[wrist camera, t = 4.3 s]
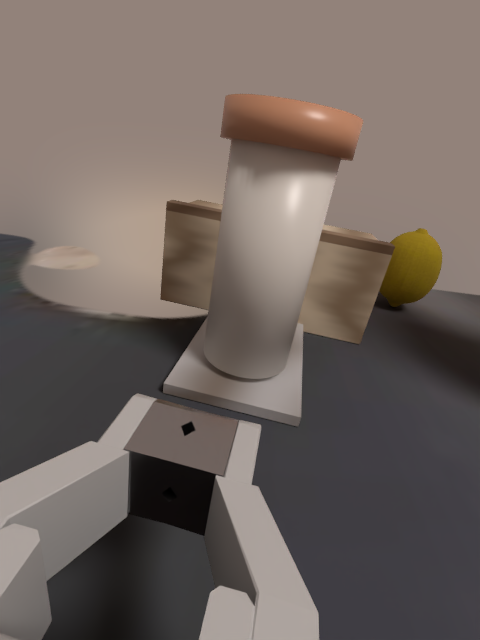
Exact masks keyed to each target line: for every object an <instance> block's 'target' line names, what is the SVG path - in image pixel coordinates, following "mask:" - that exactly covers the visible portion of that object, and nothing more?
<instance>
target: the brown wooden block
mask: <svg viewBox="0 0 480 640" xmlns="http://www.w3.org/2000/svg"><path fill="white" fill-rule="evenodd" d="M222 207H223V205H222V204H216V203H211V202H206V201H201V200H196V201H193V202H190V203H185V202H180V201H175V200H171V201H167V208H166V223H165V238H164V253H163V269H162V284H161V300H166V301H170V302H174V303H179V304H183V305H188V306H192V307H197V308H201V309H206V310H209V304H210V296H211V289H212V281H213V274H214V267H215V259H216V252H217V244H218V237H219V229H220V222H221V214H222ZM394 249H395V246H394V245H393V244H392V243H388V242H383V241H378V240H377V239H376V238H375V237H374V236H373V235H372V234H370V233H364V232H359V231H354V230H349V229H344V228H339V227H334V226H328V225H323V228H322V232H321V236H320V240H319V244H318V247H317V251H316V255H315V259H314V263H313V266H312V270H311V274H310V278H309V281H308V285H307V289H306V293H305V297H304V300H303V304H302V308H301V312H300V316H299V319H298V323H297V327H296V331H295V335H294V338H293V342H292V346H291V350H290V353H289V357H288V361H287V365H286V367H285V369H284V370H283V371H282V372H281V373H279V374H278V375H275V376H273V377H269V378H263V379H249V378H242V377H237V376H234V375H231V374H228V373H225V372H223V371H221V370H219V369H218V368H216V367H215V366H213V365H212V364H211V363H210V362H209V361H208V360H207V358H206V357H205V355H204V350H203V349H204V341H205V334H206V326H207V319H208V317H207V318H206V320H205V321H204V323H203V324H202V326H201V327H200V329H199V330H198V332H197V333H196V335H195V336H194V338H193V339H192V341H191V342H190V344H189V346H188V347H187V349H186V350H185V352H184V353H183V355H182V356H181V358H180V359H179V361H178V362H177V364H176V365H175V367H174V368H173V370H172V371H171V373H170V374H169V376H168V378H167V379H166V381H165V382H164V386H163V393H166V394H170V395H174V396H178V397H182V398H186V399H190V400H194V401H198V402H202V403H206V404H210V405H214V406H217V407H221V408H225V409H229V410H233V411H237V412H241V413H245V414H249V415H253V416H257V417H261V418H265V419H269V420H273V421H277V422H281V423H285V424H289V425H293V426H297V427H298V425H299V422H300V419H301V396H302V356H303V332H307V333H312V334H316V335H321V336H325V337H330V338H334V339H338V340H343V341H347V342H352V343H356V344H360V342H361V339H362V336H363V334H364V331H365V328H366V325H367V323H368V320H369V317H370V314H371V312H372V309H373V306H374V303H375V301H376V298H377V295H378V292H379V290H380V287H381V284H382V281H383V279H384V276H385V273H386V271H387V268H388V265H389V262H390V260H391V257H392V254H393V251H394Z"/></svg>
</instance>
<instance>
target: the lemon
mask: <svg viewBox="0 0 480 640" xmlns="http://www.w3.org/2000/svg"><path fill="white" fill-rule="evenodd" d="M390 243H392V244H393V245H394V246H395V249H394V251H393V254H392V257H391V260H390V262H389V265H388V268H387V271H386V273H385V276H384V279H383V281H382V284H381V287H380V290H379V291H380V293H381V294H382V295H383V296H384V297H385V298H387V300H388V302H389V304H390V306H393V307H397V306H399V305H401V304H405V303H412V302H415V301H418V300H420V299H421V298H423V297H424V296H425V295H426V294H427V293H428V292H429V291H430V290H431V289H432V287H433V286H434V284H435V283H436V281H437V279H438V276H439V273H440V270H441V264H442V252H441V249H440V247H439V245H438V243H437V242H436V240H435V239H434V238H433V237H431V236H430V235H429V234H428V232H427V230H425V229H418V230H416V231H413V232H407V233H404V234H402V235H400V236H398V237H396V238H395V239H394V240H392V241H391V242H390Z"/></svg>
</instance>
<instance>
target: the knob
mask: <svg viewBox="0 0 480 640" xmlns="http://www.w3.org/2000/svg"><path fill="white" fill-rule="evenodd" d="M362 124H363V120H362V119H361V118H360V117H358V116H356V115H354V114H351V113H348V112H345V111H342V110H339V109H335V108H331V107H327V106H323V105H319V104H314V103H310V102H304V101H298V100H293V99H287V98H280V97H273V96H265V95H253V94H232V95H227V96H226V97H225V103H224V111H223V121H222V128H221V136H220V137H222V138H226V139H230V140H231V147H230V154H229V162H228V170H227V178H226V185H225V192H224V200H223V207H222V214H221V222H220V229H219V237H218V244H217V252H216V259H215V267H214V274H213V281H212V289H211V296H210V304H209V312H208V319H207V326H206V334H205V341H204V349H203V350H204V355H205V357H206V358H207V360H208V361H209V362H210V363H211V364H212V365H213V366H215V367H216V368H218V369H219V370H221V371H223V372H225V373H228V374H231V375H234V376H237V377H242V378H249V379H263V378H269V377H273V376H275V375H278V374H279V373H281V372H282V371H283V370H284V369H285V367H286V365H287V361H288V357H289V353H290V350H291V346H292V342H293V338H294V335H295V331H296V327H297V323H298V319H299V316H300V312H301V308H302V304H303V300H304V297H305V293H306V289H307V285H308V281H309V278H310V274H311V270H312V266H313V263H314V259H315V255H316V251H317V247H318V244H319V240H320V236H321V232H322V228H323V225H324V221H325V217H326V213H327V209H328V206H329V202H330V198H331V194H332V191H333V187H334V183H335V179H336V175H337V172H338V168H339V164H340V160H350V161H352V160H353V157H354V153H355V149H356V146H357V142H358V139H359V135H360V131H361V127H362Z"/></svg>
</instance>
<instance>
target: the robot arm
mask: <svg viewBox="0 0 480 640" xmlns="http://www.w3.org/2000/svg"><path fill="white" fill-rule="evenodd" d="M238 423H239V424H238ZM260 433H261V425H259V424H255V423H251V422H247V421H242V420H240V421H239V420H237V419H233V418H229V417H224V416H220V415H216V414H212V413H208V412H204V411H200V410H196V409H193V408H189V407H185V406H182V405H178V404H175V403H171V402H168V401H164V400H161V399H155V398H152V397H148V396H145V395H141V394H136V395H134V396H133V397H131V399H130V400H129V401H128V403H127V404H126V405H125V407H124V408H123V409H122V411H121V412H120V413H119V415H118V416H117V417H116V418H115V420H114V421H113V422H112V424H111V425H110V426H109V428H108V429H107V430H106V432H105V433H104V434H103V435H102V437H101V438H100V439H99V441H98V442H97V443H96V442H92V441H90V442H87V443H85V444H83V445H81V446H79V447H76V448H74V449H72V450H70V451H68V452H66V453H63V454H61V455H59V456H57V457H55V458H53V459H50V460H48V461H46V462H44V463H42V464H40V465H37V466H35V467H33V468H31V469H29V470H27V471H24V472H22V473H20V474H18V475H16V476H14V477H11V478H9V479H7V480H5V481H3V482H1V483H0V640H42V638H43V636H44V634H45V632H46V631H47V629H48V627H49V625H50V623H51V621H52V617H51V609H50V603H49V596H48V589H47V583H46V581H47V580H49V579H50V578H51V577H52V576H54V575H55V574H56V573H57V572H59V571H60V570H61V569H62V568H64V567H65V566H66V565H67V564H69V563H70V562H71V561H72V560H74V559H75V558H76V557H77V556H79V555H80V554H81V553H82V552H84V551H85V550H86V549H87V548H89V547H90V546H91V545H92V544H94V543H95V542H96V541H97V540H99V539H100V538H101V537H102V536H104V535H105V534H106V533H107V532H109V531H110V530H111V529H112V528H114V527H115V526H116V525H117V524H119V523H120V522H121V521H122V520H124V519H125V518H126V517H127V514H130V515H134V516H138V517H142V518H146V519H150V520H154V521H158V522H161V523H165V524H166V523H167V524H169V525H172V526H175V527H178V528H181V529H184V530H187V531H190V532H193V533H197V534H200V535H203V536H204V540H205V545H206V549H207V554H208V558H209V563H210V567H211V571H212V576H213V580H214V585H215V590H213V591H212V592H210V596H209V600H208V604H207V608H206V613H205V617H204V621H203V625H202V629H201V633H200V637H199V640H319V618H318V611H317V609H316V607H315V605H314V603H313V601H312V598H311V596H310V594H309V592H308V590H307V588H306V586H305V584H304V582H303V580H302V577H301V575H300V573H299V571H298V569H297V567H296V565H295V563H294V561H293V559H292V556H291V554H290V552H289V550H288V548H287V546H286V544H285V542H284V540H283V538H282V535H281V533H280V531H279V529H278V527H277V525H276V523H275V521H274V519H273V517H272V514H271V512H270V510H269V508H268V506H267V504H266V502H265V500H264V498H263V496H262V493H261V491H260V489H259V487H257V486H254V485H251V484H252V478H253V473H254V467H255V461H256V456H257V450H258V444H259V438H260Z"/></svg>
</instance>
